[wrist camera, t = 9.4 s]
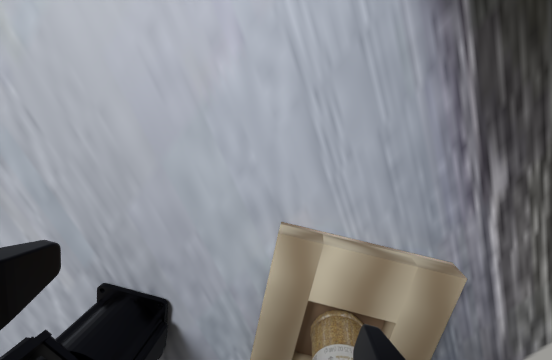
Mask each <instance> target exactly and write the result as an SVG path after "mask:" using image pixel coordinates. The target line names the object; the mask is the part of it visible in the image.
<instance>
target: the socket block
mask: <svg viewBox="0 0 552 360" xmlns="http://www.w3.org/2000/svg"><path fill="white" fill-rule="evenodd" d="M466 281H467V278H466V277H465V276H464V275H463V274H462V273H461V272H460V271H459V270H458V269H457V267H456V266H455V265H454V264H453V263H451V262H446V261H442V260H438V259H434V258H430V257H426V256H421V255H417V254H413V253H409V252H405V251H401V250H396V249H392V248H388V247H384V246H380V245H376V244H371V243H367V242H363V241H359V240H355V239H351V238H346V237H342V236H338V235H334V234H330V233H326V232H321V231H317V230H313V229H309V228H305V227H301V226H296V225H292V224H288V223H284V222H281V225H280V229H279V232H278V237H277V241H276V246H275V250H274V255H273V259H272V264H271V268H270V273H269V277H268V282H267V286H266V291H265V295H264V300H263V304H262V309H261V313H260V318H259V322H258V327H257V331H256V336H255V340H254V345H253V349H252V354H251V358H250V360H312V341H311V335H310V332H311V326H312V324H313V322H314V321H315V320H316V318H317V317H318V316H320V315H321V314H323V313H325V312H327V311H332V310H342V311H347V312H348V313H352V314H353V315H354V316H356V317H357V318H358V319H360V320H361V322H362V323H363V324H368V325H372V326H375V327H378V328H379V329H380V330H381V331H382V332H383V333H384V334H385V335H386V337H387V338H388V339H389V340H390V341H391V343H392V344H393V345H394V346H395V347H396V348H397V350H398V351H399V352H400V353H401V354H402V356H403V357H404V358H405V359H406V360H431V357H432V355H433V353H434V351H435V349H436V347H437V344H438V342H439V340H440V338H441V336H442V333H443V331H444V329H445V327H446V325H447V322H448V320H449V318H450V316H451V314H452V311H453V309H454V307H455V305H456V303H457V300H458V298H459V296H460V294H461V292H462V290H463V287H464V285H465V283H466Z"/></svg>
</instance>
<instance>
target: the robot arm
mask: <svg viewBox="0 0 552 360" xmlns="http://www.w3.org/2000/svg"><path fill="white" fill-rule="evenodd" d="M60 269H61V248H60V245H59V244H58V243H55V242H51V241H48V240H40V241H35V242H29V243H24V244H18V245H13V246H7V247H2V248H0V330H1V329H2V328H3V327H5V326H6V325H7V324H8V323H9V322H10V321H11V320H12V319H13V318H14V317H15V316H16V315H18V314H19V313H20V312H21V311H22V310H23V309H24V308H25V307H26V306H27V305H28V304H29V303H30V302H31V301H32V300H33V299H34V298H35V297H36V296H37V295H38V294H39V293H40V292H41V291H42V290H43V289H44V288H45V287H46V286H47V285H48V284H49V283H50V282H51V281H52V280H53V279H54V278H55V277H56V276H57V275H58V273H59V271H60ZM167 309H168V302H167V301H166V300H165V299H162V298H158V297H155V296H151V295H147V294H144V293H140V292H136V291H133V290H129V289H125V288H121V287H118V286H114V285H110V284H107V283H103V284H101V285H100V286H99V287H98V288H97V303H96V304H95V305H93V306H92V307H91V308H90V309H89V310H88V311H87V312H86V313H84V314H83V315H82V316H81V317H80V318H79V319H78V320H77V321H75V322H74V323H73V324H72V325H71V326H70V327H69V328H68V329H66V330H65V331H64V332H63V333H62V334H61V335H60V336H59V337H57V338H56V339H54V338H53V337H52V336H51V335H52V334H51V333H49V332H48V331H47V330H45V331H43V332H42V333H41V334H39V335H38V336H37V337H35V338H34V337H31V338H25V339H23V340H22V341H21V342H20V343H18V344H17V345H16V346H15V347H13V348H12V349H11V350H9V351H8V352H7V353H6V354H4V355H3V356H1V357H0V360H157V359H159V358H160V357H161V355H162V353H163V350H164V348H165V346H166V338H167V329H168V325H167V323H166V318H167ZM353 360H406V359H405V358H404V357H403V356H402V354H401V353H400V352H399V351H398V350H397V348H396V347H395V346H394V345H393V344H392V343H391V341H390V340H389V339H388V338H387V337H386V335H385V334H384V333H383V332H382V331H381V330H380V329H379V328H378V327H375V326H372V325H368V324H364V325H362V327H361V329H360V332H359V334H358V337H357V340H356V343H355V346H354V350H353Z"/></svg>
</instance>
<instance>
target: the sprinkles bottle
mask: <svg viewBox="0 0 552 360" xmlns="http://www.w3.org/2000/svg"><path fill="white" fill-rule="evenodd" d="M362 325H364V324H363V323H362V322H361V320H360V319H358V318H357V317H356V316H354V315H353V314H352V313H348V312H347V311H342V310H332V311H327V312H325V313H323V314H321V315H320V316H318V317H317V318H316V320H315V321H314V322H313V324H312V326H311V332H310V335H311V341H312V360H353V350H354V346H355V343H356V340H357V337H358V334H359V332H360V329H361V327H362Z"/></svg>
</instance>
